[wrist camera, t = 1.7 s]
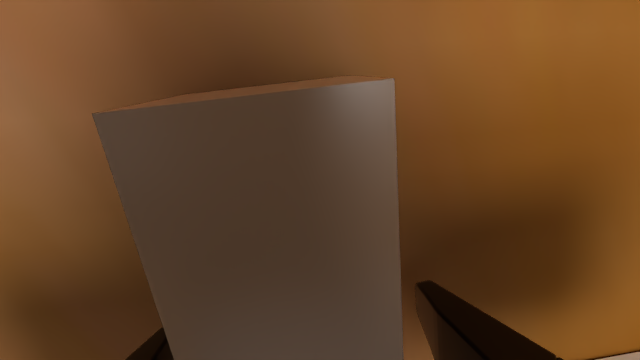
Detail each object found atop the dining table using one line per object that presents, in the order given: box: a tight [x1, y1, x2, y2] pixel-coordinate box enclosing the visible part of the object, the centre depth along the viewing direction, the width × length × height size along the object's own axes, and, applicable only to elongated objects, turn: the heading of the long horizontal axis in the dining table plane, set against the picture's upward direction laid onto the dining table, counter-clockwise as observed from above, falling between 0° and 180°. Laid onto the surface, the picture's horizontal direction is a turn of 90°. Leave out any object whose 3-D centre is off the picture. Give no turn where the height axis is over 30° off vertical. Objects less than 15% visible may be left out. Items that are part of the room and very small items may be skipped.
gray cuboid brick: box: [92, 75, 404, 360], centre depth 8 cm, size 12×4×4 cm, turn 6°
